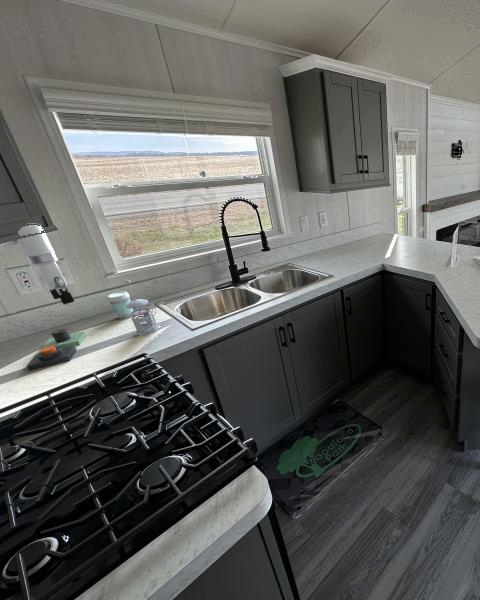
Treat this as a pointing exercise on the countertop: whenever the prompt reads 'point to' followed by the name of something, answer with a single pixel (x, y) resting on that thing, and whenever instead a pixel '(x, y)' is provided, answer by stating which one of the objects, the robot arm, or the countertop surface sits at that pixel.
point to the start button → (48, 350)
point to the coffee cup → (120, 304)
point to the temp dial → (60, 335)
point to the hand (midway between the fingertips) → (64, 300)
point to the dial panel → (73, 341)
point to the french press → (144, 327)
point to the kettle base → (52, 358)
